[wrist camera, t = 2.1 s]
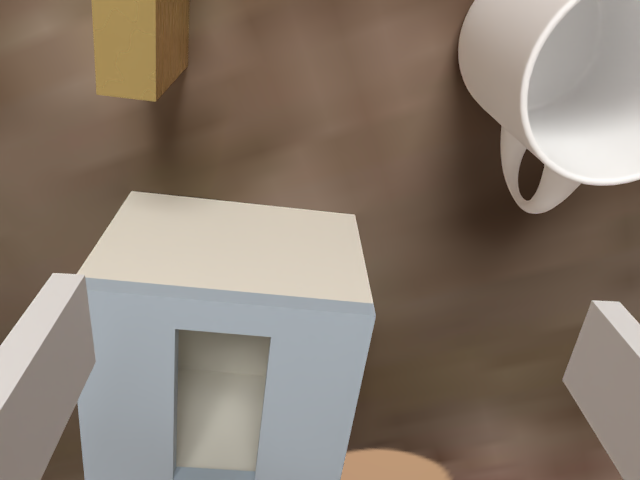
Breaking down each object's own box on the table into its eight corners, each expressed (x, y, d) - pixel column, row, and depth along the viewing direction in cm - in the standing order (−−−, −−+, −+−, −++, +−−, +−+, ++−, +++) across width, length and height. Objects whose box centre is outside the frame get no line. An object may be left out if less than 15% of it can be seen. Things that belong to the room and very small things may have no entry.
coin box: (131, 191, 35) (67, 288, 25) (354, 214, 36) (375, 315, 26) (136, 366, 41) (86, 497, 32) (325, 380, 43) (333, 511, 33)
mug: (421, 158, 34) (467, 241, 25) (480, -61, 29) (569, -61, 20) (552, 179, 35) (645, 266, 26) (634, -29, 30) (790, -14, 20)
